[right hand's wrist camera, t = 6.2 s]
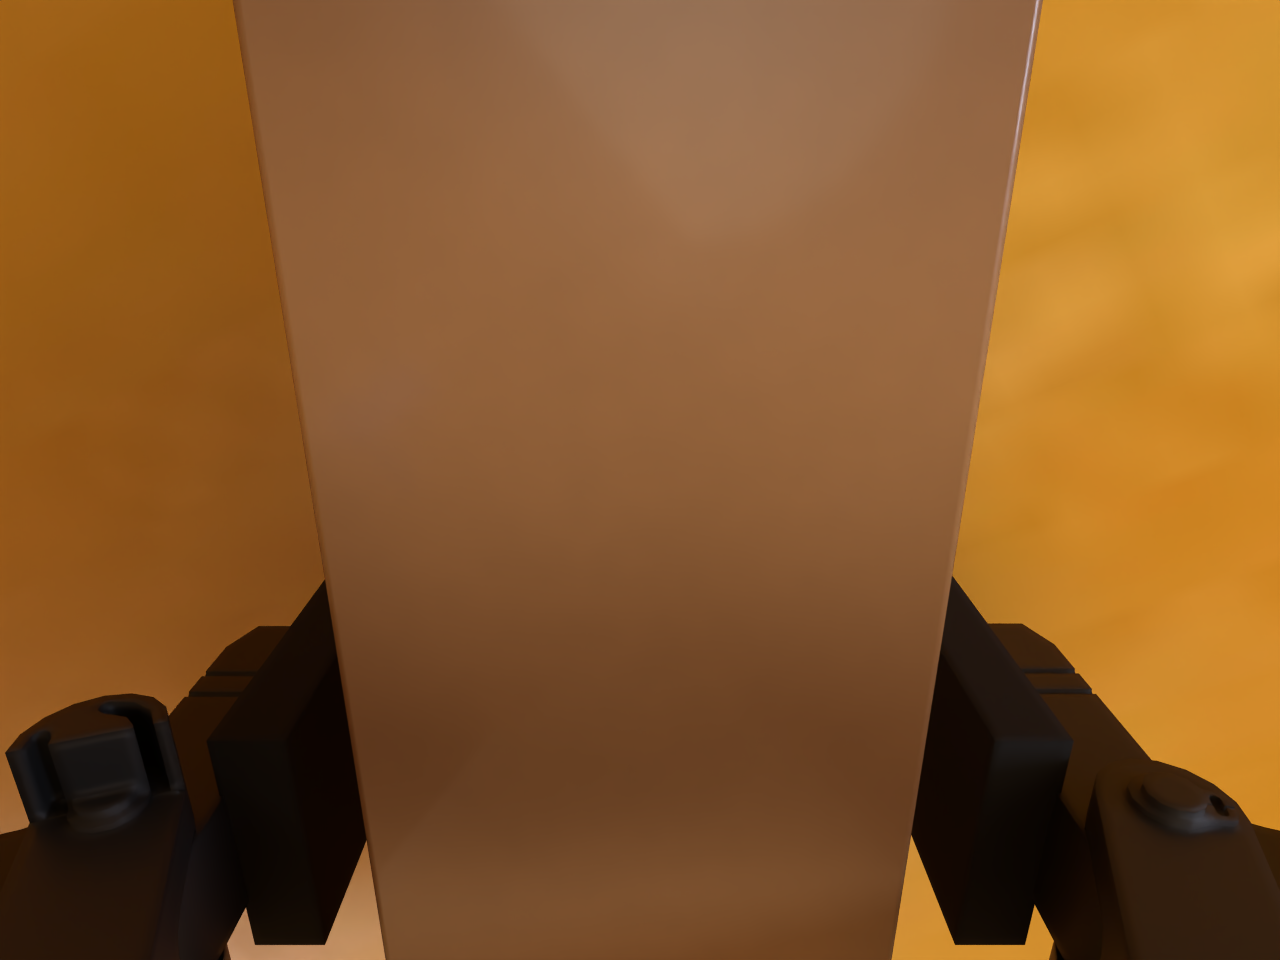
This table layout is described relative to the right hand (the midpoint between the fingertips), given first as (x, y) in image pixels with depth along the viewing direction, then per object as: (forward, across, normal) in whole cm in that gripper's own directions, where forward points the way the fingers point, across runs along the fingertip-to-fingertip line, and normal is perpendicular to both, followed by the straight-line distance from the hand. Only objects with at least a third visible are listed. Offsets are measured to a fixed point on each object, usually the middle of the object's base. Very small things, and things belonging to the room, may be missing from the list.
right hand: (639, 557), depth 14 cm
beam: (+1, 0, -33) cm, 33 cm away
